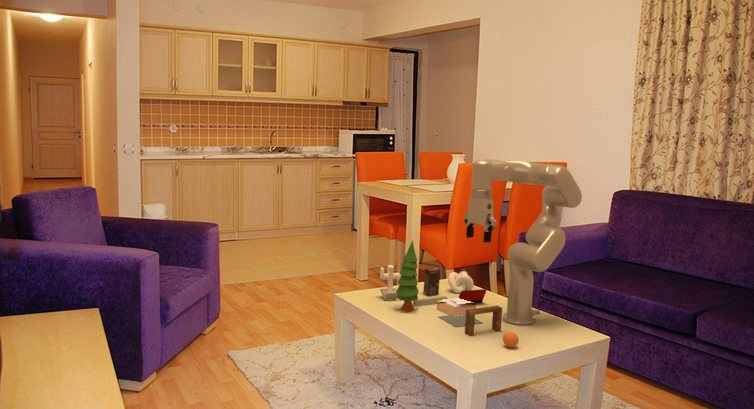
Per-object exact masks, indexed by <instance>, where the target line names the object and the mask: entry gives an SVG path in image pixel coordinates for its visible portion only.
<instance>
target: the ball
mask: <svg viewBox="0 0 754 409" xmlns="http://www.w3.org/2000/svg"><path fill="white" fill-rule="evenodd" d="M519 341H520V339H519V336H518V334H517V333H515V332H514V331H506V332H505V333H504V335H503V336H502V342H503V345H505V346H506V347H508V348H515V347H517V345H518V344H519Z"/></svg>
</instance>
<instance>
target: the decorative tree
mask: <svg viewBox="0 0 754 409" xmlns="http://www.w3.org/2000/svg"><path fill="white" fill-rule="evenodd" d="M417 262H418V258H417V254H416V251H415V246H414V240H413V239H412V240H411V243H410V245H409V247H408V249H407V251H406V254H405V256H404V257H403V261H402V263H401V265H400V266H401V270H400V272H399V273H400V275H401V277H400V279H399V281H398V284H400V285H398V287H397V288H396V289H397V291H396V293H398V295H397V299H398V300H399V301H404V302H403V304H402V307H401V308H400V311H401V312H404V313H413V312H414V311H415V306H413V301H415V300H418V299H419V296H418V295H419V288H418V279H417V277H418V273H417V269H418V263H417Z"/></svg>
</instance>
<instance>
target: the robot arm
mask: <svg viewBox="0 0 754 409" xmlns="http://www.w3.org/2000/svg"><path fill="white" fill-rule="evenodd" d="M471 170H472V171H471V172H472V173H471V185H470V186H471V188H470V189H471V190H470V197H469V199H468V200H469V201H468V206H467V207H468V208H467V212H466V213H464V214H463V215H462V216H463V220H464V223H465V227H466V230H465V231H466V232H465V233H466V234H465V235H466V236H465V237H466V238H467V239H470V238H474V236H475V227H474V225H476V226H477V225H478V226H481V227H483V229H484V231H483V243H485V244H486V243H491V242H492V235H493V234H492V233H493V231H494V229H495V228H496V225H497V223H498V221H497V220H496V219H495V214H494V212H495V210H494V200H493V198H492V196H493V192H492V191H493V181H501V182H511V183H516V184H525V185H533V186H535V185H536V186H537V185H538V186H544V188H543V189H542V192H541V200H542V210H541V212H540V214H539V216H538V217H537V218H536V220H535V221H534V222H533V223H532V225H531V226H530V228H528V230H527V232H526V234H525V240H526V242H527V243H525V242H516V243H513V244H512V245H510V247H509V249H508V251H507V261H508V268H509V269H508V270H509V274H508V276H509V278H508V289H507V303H506V304H507V306H506V313H505V314H502V320H503V321H504V322H506V323H508V324H511V325H517V326H529V325H530V326H531V325H534V323H535V320H536V319H535V318H534V316H535V315H540V314H541V310H540V309H533V294H534V293H533V292H534V273H533V272H537V273H541V272H542V273H543V272H544V271H547V269H548V268H550V266H551V265H552V263H553V262H554V261H555V260H556V259H557V257H558V255H559V254H560V253H561V252H562V250H563V249H564V246H565V244H566V234H565V231H564V230H562V228H560V227H559V226H560V224H561V222H562V215H561V214H562V213H561V210H560V209H561V208H568V209H575V208H577V207H579V206H580V205H581V202H582V199H583V198H582V197H583V194H582V191H581V188H580V187H579V185H578V183H577V181H576V180H575V178H574V176H573V175H572V173H571V172H570V171H569V169H568V168H566V166H564V165H559V164H547V163H539V162H529V161H520V160H519V161H516V160H515V161H508V160H500V159H491V158H490V159H489V158H486V159H483V160H475V161H473V163H472V169H471ZM560 207H561V208H560Z"/></svg>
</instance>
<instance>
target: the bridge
mask: <svg viewBox="0 0 754 409" xmlns="http://www.w3.org/2000/svg"><path fill="white" fill-rule="evenodd" d="M488 313H489V314H490V313H492V321H491V322H492V323H491V330H492V331H494V332H496V333H498V332H502V320H503V307H502V306H499V305H491V306H485V307H477V308H470V309H469V308H468V309H465V314H466V321H465V326H464V334H465V335H467V336H469V337H472V336H473V337H474V336H475V325H476V324H475V319H476V315H483V314H488Z"/></svg>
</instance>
